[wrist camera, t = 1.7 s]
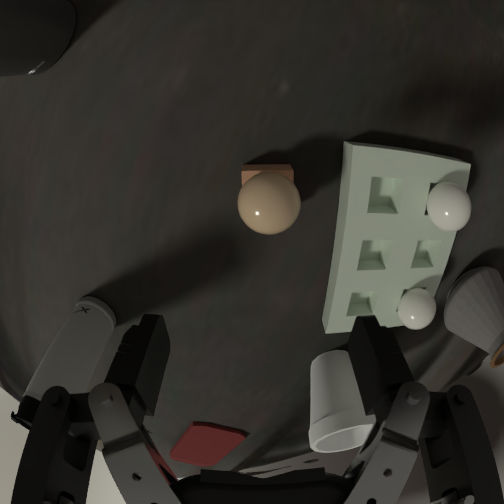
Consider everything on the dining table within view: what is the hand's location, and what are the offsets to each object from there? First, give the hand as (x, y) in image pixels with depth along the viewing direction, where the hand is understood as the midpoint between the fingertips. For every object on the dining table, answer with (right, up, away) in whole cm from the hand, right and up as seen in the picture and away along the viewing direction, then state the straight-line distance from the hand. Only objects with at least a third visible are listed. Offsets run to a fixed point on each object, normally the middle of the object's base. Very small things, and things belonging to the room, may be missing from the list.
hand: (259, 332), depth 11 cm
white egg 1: (+18, -2, +18) cm, 26 cm away
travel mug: (-22, -5, +22) cm, 31 cm away
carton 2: (-12, -42, +44) cm, 63 cm away
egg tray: (+15, +4, +17) cm, 23 cm away
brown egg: (+1, +8, +12) cm, 15 cm away
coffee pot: (+34, +1, +19) cm, 39 cm away
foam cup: (+11, -13, +27) cm, 32 cm away
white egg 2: (+18, +9, +12) cm, 24 cm away
